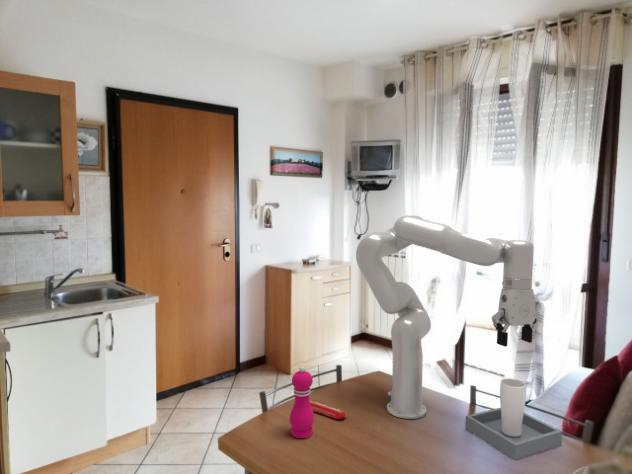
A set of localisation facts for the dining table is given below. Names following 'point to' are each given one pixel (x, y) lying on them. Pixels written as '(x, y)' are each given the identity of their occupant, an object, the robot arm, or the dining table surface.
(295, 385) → the pepper mill
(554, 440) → the tray
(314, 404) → the candy bar
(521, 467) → the dining table surface
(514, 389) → the drinking glass
